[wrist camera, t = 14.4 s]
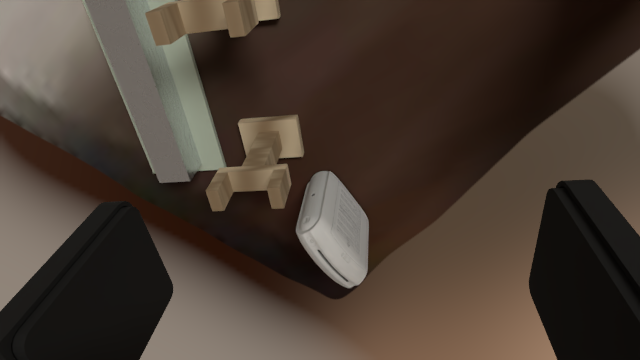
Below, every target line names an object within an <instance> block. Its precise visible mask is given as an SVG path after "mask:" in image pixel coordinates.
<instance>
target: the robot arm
mask: <svg viewBox="0 0 640 360" xmlns="http://www.w3.org/2000/svg"><path fill="white" fill-rule="evenodd" d="M529 289H530V293H531V296H532V299H533V301H534V304H535V306H536V309H537V311H538V313H539V316H540V318H541V321H542V323H543V326H544V328H545V330H546V333H547V335H548V338H549V340H550V343H551V345H552V347H553V350H554V352H555V355H556V357H557V360H640V236H639V235H638V234H637V233H636V231H635V230H634V229H633V228H632V227H631V225H630V224H629V223H628V222H627V220H626V219H625V218H624V217H623V215H622V214H621V213H620V212H619V211H618V209H617V208H616V207H615V206H614V204H613V203H612V202H611V201H610V200H609V198H608V197H607V196H606V195H605V193H604V192H603V191H602V190H601V189H600V188H599V186H598V185H597V184H596V183H595V182H594V181H593V180H572V181H560V182H559V183H558V184H557V186H556V188H551V189H549V190H548V192H547V196H546V200H545V205H544V210H543V214H542V220H541V225H540V229H539V234H538V239H537V244H536V248H535V253H534V258H533V263H532V268H531V272H530V278H529ZM172 293H173V284H172V281H171V279H170V277H169V275H168V273H167V271H166V268H165V266H164V264H163V262H162V260H161V258H160V256H159V253H158V251H157V249H156V247H155V245H154V243H153V241H152V238H151V236H150V234H149V232H148V230H147V227H146V225H145V223H144V221H143V219H142V217H141V215H140V212H139V211H138V209H136V208H135V207H133V206H132V205H131V204H130V203H129V202H126V201H120V202H104V203H101V204H100V205H99V206H98V207H97V208H96V209H95V210H94V211H93V212H92V213H91V214H90V215H89V216H88V217H87V219H86V220H85V221H84V222H83V223H82V224H81V225H80V226H79V227H78V228H77V229H76V230H75V231H74V233H73V234H72V235H71V236H70V237H69V238H68V239H67V240H66V241H65V242H64V243H63V245H62V246H61V247H60V248H59V249H58V250H57V251H56V252H55V253H54V254H53V255H52V256H51V257H50V258H49V260H48V261H47V262H46V263H45V264H44V265H43V266H42V267H41V268H40V269H39V270H38V271H37V273H36V274H35V275H34V276H33V277H32V278H31V279H30V280H29V281H28V282H27V283H26V284H25V285H24V287H23V288H22V289H21V290H20V291H19V292H18V293H17V294H16V295H15V296H14V297H13V298H12V300H11V301H10V302H9V303H8V304H7V305H6V306H5V307H4V308H3V309H2V310H1V311H0V360H139V359H140V357H141V355H142V353H143V351H144V349H145V348H146V346H147V344H148V342H149V340H150V338H151V336H152V334H153V332H154V330H155V328H156V326H157V324H158V322H159V321H160V318H161V317H162V315H163V313H164V311H165V309H166V307H167V305H168V303H169V301H170V299H171V297H172Z"/></svg>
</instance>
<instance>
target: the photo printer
mask: <svg viewBox="0 0 640 360" xmlns="http://www.w3.org/2000/svg"><path fill="white" fill-rule="evenodd" d="M368 232H369V221H368V218H367V216H366V214H365V212H364V211H363V210H362V208H361V207H360V205H359V204H358V203H357V202H356V200H355V199H354V198H353V196H352V195H351V194H350V193H349V191H348V190H347V189H346V187H345V186H344V185H343V184H342V182H341V181H340V180H339V179H338V178H337V177H336V176H335V175H334V174H333V173H332V172H331V171H329V172H328V171H321V172H318V173H316V174H314V175H313V177H312V178H311V181H310V182H308V184H307V187H306V190H305V195H304V198H303V202H302V206H301V210H300V214H299V218H298V222H297V226H296V233H297V236H298V238H299V240H300V242H301V244H302V245H303V247H304V248H305V250H306V251H307V253H308V254H309V255H310V257H311V258H312V259H313V260H314V262H315V263H316V264H317V265H318V266H319V267H320V268H321V269H322V270H323V271H324V272H325V273H326V274H327V275H328V276H329V277H330V278H331V279H333V280H334V281H335V282H337V283H338V284H340V285H342V286H344V287H346V288H351V287H353V286H355V285H359V284H360V283H361V282H362V281H363V280H364V278H365V276H366V274H367V270H368Z"/></svg>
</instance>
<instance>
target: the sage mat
mask: <svg viewBox="0 0 640 360" xmlns="http://www.w3.org/2000/svg"><path fill="white" fill-rule="evenodd" d="M147 1H148V4H149V7H150V10H153V9H155V8H157V7H159V6H162V5H164V4H166V3H168V2H175V1H177V0H147ZM82 2H83V4H84V7H85V9H86V11H87V14H88V16H89V19H90V21H91V23H92V26H93V28H94V31H95V33H96V36H97V38H98V40H99V43H100V45H101V48H102V50H103V52H104V55H105V57H106V60H107V62H108V65H109V67H110V69H111V72H112V74H113V77H114V79H115V81H116V84H117V86H118V89H119V91H120V94H121V96H122V98H123V101H124V103H125V106H126V108H127V110H128V113H129V115H130V118H131V120H132V123H133V125H134V127H135V130H136V132H137V135H138V137H139V139H140V142H141V144H142V147H143V149H144V152H145V154H146V156H147V159H148V161H149V164H150V166H151V168H152V171H153V173H155V170H154V168H153V166H152V163H151V161H150V158H149V156H148V153H147V151H146V149H145V146H144V144H143V141H142V139H141V136H140V134H139V131H138V129H137V127H136V124H135V122H134V119H133V117H132V114H131V112H130V110H129V107H128V105H127V102H126V100H125V97H124V95H123V92H122V90H121V88H120V85H119V83H118V80H117V78H116V75H115V73H114V71H113V68H112V66H111V63H110V61H109V58H108V56H107V54H106V51H105V49H104V46H103V44H102V41H101V39H100V36H99V34H98V32H97V29H96V27H95V24H94V22H93V19H92V17H91V15H90V12H89V10H88V7H87V5H86V2H85V0H82ZM162 46H163V49H164V52H165V55H166V58H167V61H168V64H169V67H170V70H171V73H172V76H173V79H174V82H175V85H176V88H177V91H178V94H179V97H180V100H181V103H182V106H183V109H184V112H185V115H186V118H187V121H188V124H189V127H190V130H191V133H192V136H193V139H194V142H195V145H196V148H197V151H198V154H199V157H200V160H201V163H202V165H201V166H200V168H199V169H198V171H206V170H218V169H219V168H225V167H227V166H226V163H225V160H224V156H223V153H222V150H221V146H220V143H219V140H218V136H217V133H216V129H215V126H214V123H213V119H212V116H211V113H210V109H209V106H208V102H207V99H206V96H205V92H204V89H203V86H202V82H201V79H200V75H199V72H198V69H197V65H196V62H195V59H194V55H193V52H192V49H191V45H190V42H189V38H188V35H187V34H185V35H184V36H182V37H181V38H179V39H178V40H176V41H175V42H173V43H172V44H170V45H162Z"/></svg>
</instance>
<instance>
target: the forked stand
mask: <svg viewBox="0 0 640 360" xmlns="http://www.w3.org/2000/svg"><path fill="white" fill-rule="evenodd" d="M145 15H146V18H147V21H148V24H149V27H150V30H151V33H152V36H153V39H154V42H155V44H156V46H161V45H170V44H172V43H173V42H175V41H176V40H178V39H179V38H181V37H182V36H184V35H185V34H189V33H198V32H206V31H215V30H224V29H228V30H229V34H230V38H232V37H241V36H246V35H247V34H248V33H249V32H250V31H251V30H252V29H253V28H254V27H255V26H256V25H257V24H258V23H259V22H258V21H263V20H271V19H279V17H280V16H281V15H280V9H279V3H278V0H183V1H175V2H168V3H166V4H164V5H162V6H159V7H157V8H155V9H153V10H151V11H148V12H146V13H145ZM238 126H239V129H240V133H241V137H242V141H243V145H244V149H245V152H246V156H247V157H246V159H245V161H244V163H243V165H242V167H225V168H219V169H218V171H217V173H216V174H215V176H214V178H213V179H212V181H211V183H210V185H209V186H208V188H207V190H206V194H207V197H208V200H209V202H210V205H211V208H212V211H224V210H225V208H226V206H227V204H228V202H229V200H230V198H231V196H232V194H233V192H241V191H262V190H267V191H268V195H269V199H270V203H271V208H272V209H278V208H284V207H285V203H286V200H287V196H288V193H289V190H290V186H291V180H290V175H289V170H288V165H287V164H277V162H278V159H279V158H291V157H303V154H304V148H303V142H302V136H301V130H300V125H299V119H298V115H287V116H274V117H262V118H249V119H240V121H239V123H238Z"/></svg>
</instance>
